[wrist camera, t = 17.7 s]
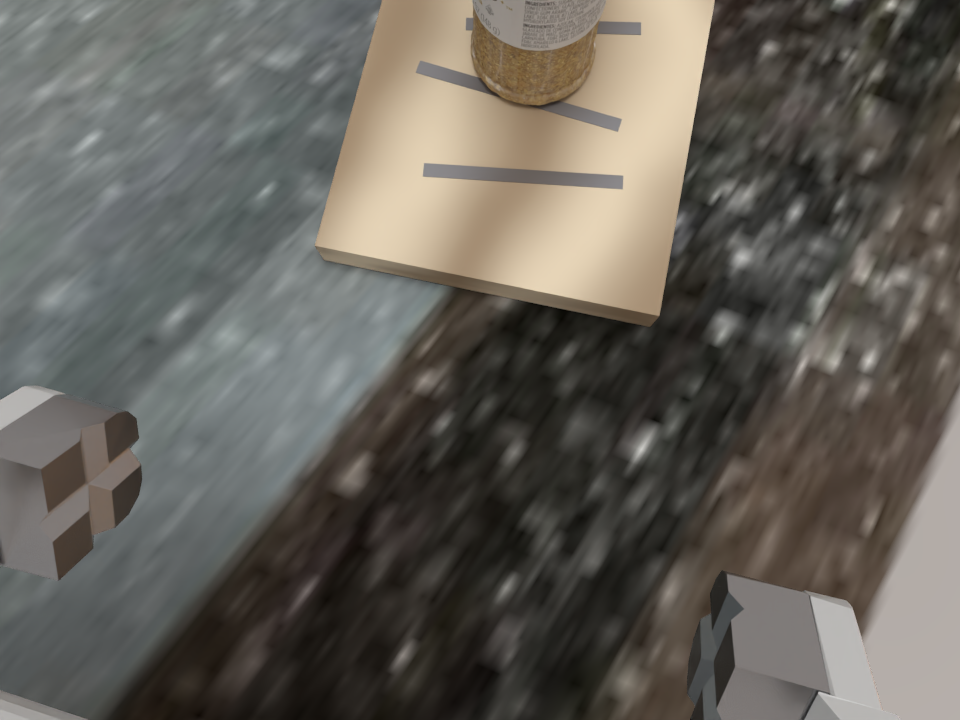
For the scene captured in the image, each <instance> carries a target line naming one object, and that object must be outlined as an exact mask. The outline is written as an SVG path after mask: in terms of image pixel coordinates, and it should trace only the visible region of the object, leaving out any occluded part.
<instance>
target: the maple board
mask: <svg viewBox="0 0 960 720" xmlns="http://www.w3.org/2000/svg"><path fill="white" fill-rule="evenodd" d="M714 2H715V0H606V4H605V7H604V10H603V13H602V15H601V17H600V20H599V24H598V30H597V34H596V38H595V42H596V53H595V59H594V63H593V66H592V68H591V71H590V73H589V75H588V76H587V78H586V79H585V80H584V82H583V84H582V86H580V87H579V88H577V89H576V90H575V91H574V92H573V93H571V94H570V95H568V96H566V97H565V98H562V99H560V100H558V101H554V102H550V103H547V104H544V105H525V104H521V103H516V102H513V101H510V100H507V99H505V98H502V97H501V96H499V95H498V94H497V93H496V92H493V91H491V90H490V89H489V88H488V87H487V85H486V84H485V83H484V82H483V80H482V79H481V77H480V76H479V74H478V73H477V72H476V70H475V67H474V64H473V60H472V57H471V34H472V30H473V3H472V0H382V3H381V7H380V11H379V14H378V18H377V21H376V25H375V29H374V32H373V36H372V40H371V43H370V47H369V51H368V54H367V58H366V61H365V65H364V69H363V72H362V76H361V80H360V83H359V87H358V91H357V94H356V98H355V101H354V105H353V109H352V112H351V116H350V120H349V123H348V127H347V131H346V134H345V138H344V141H343V145H342V149H341V152H340V156H339V160H338V163H337V167H336V171H335V174H334V178H333V181H332V185H331V189H330V192H329V196H328V200H327V203H326V207H325V211H324V214H323V218H322V221H321V225H320V229H319V232H318V236H317V240H316V243H315V247H316V248H317V250H318V251H319V253H320V254H321V256H322V257H323V259H324V260H326V261H331V262H336V263H341V264H346V265H351V266H355V267H360V268H365V269H370V270H375V271H380V272H385V273H389V274H394V275H399V276H404V277H409V278H414V279H419V280H424V281H428V282H433V283H438V284H443V285H448V286H453V287H458V288H463V289H467V290H472V291H477V292H482V293H487V294H492V295H497V296H502V297H506V298H511V299H516V300H521V301H526V302H531V303H536V304H541V305H545V306H550V307H555V308H560V309H565V310H570V311H575V312H580V313H584V314H589V315H594V316H599V317H604V318H609V319H614V320H618V321H623V322H628V323H633V324H638V325H643V326H648V327H650V326H651V325H652V324H653V323H654V322H655V321H656V319H657V318H658V317H659V315H660V309H661V303H662V298H663V292H664V286H665V281H666V275H667V269H668V264H669V258H670V252H671V247H672V241H673V235H674V229H675V224H676V218H677V212H678V207H679V201H680V195H681V190H682V184H683V178H684V173H685V167H686V161H687V156H688V150H689V144H690V138H691V133H692V127H693V121H694V116H695V110H696V104H697V99H698V93H699V87H700V82H701V76H702V70H703V64H704V59H705V53H706V47H707V42H708V36H709V30H710V25H711V19H712V13H713V8H714Z"/></svg>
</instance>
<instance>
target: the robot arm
mask: <svg viewBox="0 0 960 720" xmlns="http://www.w3.org/2000/svg"><path fill="white" fill-rule="evenodd" d="M138 439H139V435H138V428H137V420H136V418H135V417H134V416H133V415H132V414H130V413H129V412H128V411H125V410H121V409H118V408H114V407H111V406H108V405H104V404H101V403H97V402H94V401H90V400H87V399H84V398H80V397H77V396H73V395H70V394H64V393H61V392H58V391H55V390H51V389H47V388H44V387H40V386H23V387H22V388H20V389H18V390H17V391H15V392H13V393H12V394H10V395H8V396H6V397H5V398H3V399H1V400H0V565H2V566H5V567H9V568H13V569H16V570H20V571H24V572H27V573H31V574H35V575H38V576H42V577H46V578H49V579H53V580H57V581H59V580H60V579H61V578H62V577H63V576H64V575H65V574H66V573H67V572H68V571H70V570H71V569H72V568H73V567H74V566H75V565H76V564H77V563H78V562H79V561H80V560H81V559H82V558H83V557H84V556H86V555H87V554H88V553H89V552H90V551H91V550H92V549H93V543H94V535H95V534H98V533H101V532H104V531H107V530H110V529H112V528H115V527H116V526H117V525H118V524H119V523H120V522H121V521H122V520H123V519H124V518H125V517H126V516H127V515H128V514H129V513H130V511H131V509H132V507H133V505H134V503H135V501H136V500H137V498H138V496H139V492H140V487H141V481H142V472H141V464H140V462H139V461H138V459H137V458H136V457H135V455H134V454H133V452H132V451H131V449H130V448H131V447H132V446H133V445H134V444H135V442H136V441H137V440H138ZM710 600H711V614H709V615H707V616H706V617H704V618H702V619H700V622H699V624H698V627H697V630H696V633H695V636H694V639H693V643H692V648H691V653H690V657H689V664H688V676H687V694H688V696H689V697H690V699H691V700H692V702H693V703H694V705H695V708H694V711H693V713H692V716H691V718H690V720H901V719H900V717H898V715H897V714H894V713H891V712H887V711H884V710H883V708H882V705H881V702H880V698H879V695H878V692H877V688H876V685H875V682H874V679H873V675H872V671H871V668H870V665H869V661H868V658H867V655H866V651H865V648H864V645H863V641H862V638H861V634H860V631H859V628H858V624H857V621H856V618H855V614H854V611H853V608H852V606H851V605H850V604H849V603H848V602H847V601H846V600H842V599H837V598H833V597H829V596H825V595H821V594H817V593H813V592H808V591H803V592H802V591H799V590H796V589H792V588H788V587H784V586H780V585H776V584H773V583H769V582H765V581H761V580H757V579H753V578H750V577H746V576H742V575H738V574H734V573H731V572H727V571H723V570H722V571H721V572H720V574H719V575H718V577H717V578H716V580H715V583H714V585H713V588H712V590H711V593H710ZM0 720H88V719H85V718H82V717H79V716H76V715H73V714H70V713H67V712H64V711H61V710H58V709H55V708H52V707H49V706H46V705H43V704H40V703H37V702H34V701H31V700H28V699H25V698H22V697H19V696H17V695H14V694H11V693H8V692H5V691H2V690H0Z"/></svg>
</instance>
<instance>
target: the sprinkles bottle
mask: <svg viewBox="0 0 960 720" xmlns="http://www.w3.org/2000/svg"><path fill="white" fill-rule="evenodd" d="M472 3H473V30H472V34H471V57H472V60H473V64H474V67H475V70H476V72H477V73H478V74H479V76H480V77H481V79H482V80H483V82H484V83H485V84H486V85H487V87H488V88H489V89H490V90H491V91H493V92H496V93H497V94H498V95H499V96H501V97H502V98H505V99H507V100H510V101H513V102H516V103H521V104H525V105H544V104H547V103H550V102H554V101H558V100H560V99H562V98H565V97H566V96H568V95H570V94H571V93H573V92H574V91H575V90H576V89H577V88H579V87H580V86H582V84H583V82H584V80H585V79H586V78H587V76H588V75H589V73H590V71H591V68H592V66H593V63H594V59H595V53H596V42H595V38H596V34H597V30H598V24H599V20H600V17H601V15H602V13H603V10H604V7H605V4H606V0H472Z"/></svg>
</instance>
